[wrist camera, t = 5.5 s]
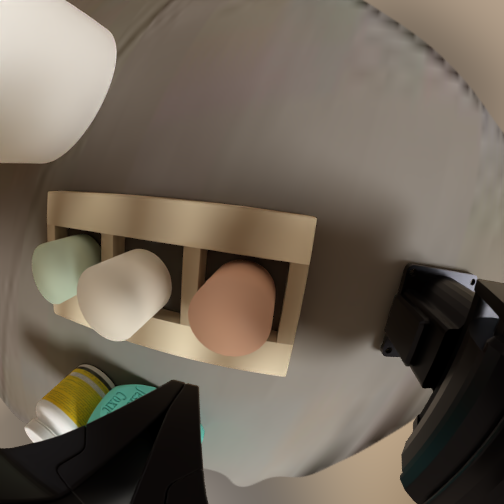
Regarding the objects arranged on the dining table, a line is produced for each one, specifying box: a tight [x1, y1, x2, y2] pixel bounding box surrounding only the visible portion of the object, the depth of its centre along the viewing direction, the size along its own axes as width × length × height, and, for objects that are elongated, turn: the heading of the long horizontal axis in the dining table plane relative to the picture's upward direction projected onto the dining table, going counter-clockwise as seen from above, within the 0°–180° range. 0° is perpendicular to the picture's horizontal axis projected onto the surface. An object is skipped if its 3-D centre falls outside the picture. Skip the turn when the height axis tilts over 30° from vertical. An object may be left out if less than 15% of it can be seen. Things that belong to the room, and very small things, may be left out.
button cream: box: [77, 249, 172, 341], centre depth 14 cm, size 4×4×4 cm
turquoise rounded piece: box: [87, 384, 204, 443], centre depth 17 cm, size 8×8×8 cm
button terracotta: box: [188, 259, 276, 357], centre depth 14 cm, size 4×4×4 cm
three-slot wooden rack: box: [47, 191, 317, 377], centre depth 17 cm, size 19×10×2 cm, turn 83°
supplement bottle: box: [25, 364, 115, 443], centre depth 16 cm, size 5×5×10 cm
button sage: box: [32, 234, 101, 304], centre depth 16 cm, size 4×4×4 cm
